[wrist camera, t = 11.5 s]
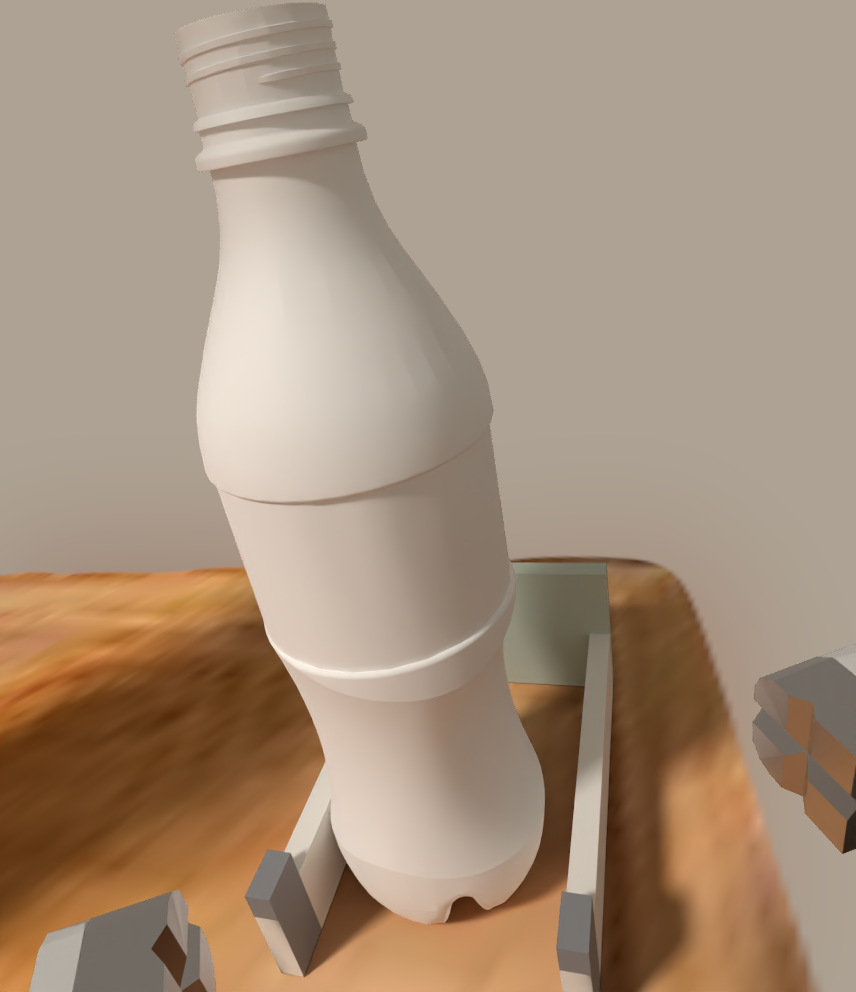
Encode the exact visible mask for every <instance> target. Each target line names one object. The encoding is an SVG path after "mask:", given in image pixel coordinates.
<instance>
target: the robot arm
mask: <svg viewBox="0 0 856 992" xmlns="http://www.w3.org/2000/svg"><path fill="white" fill-rule="evenodd" d="M754 700H755V701H756V702H757V703H758V704H759V705H760V706H761V707H762V709H761V711H760V712H759V714H758V715H757V717H756V718H755V720H754V721H753V742H754V744H755V747H756V750H757V752H758V755H759V758H760V760H761V761H762V763H763V765H764V766H765V768H766V769H767V771H768V772H769V774H770V775H771V776H772V777H773V778H774V779H775V780H776V782H777V783H778V784H779V785H780V786H781V787H782V788H784V789H787V790H789V791H792V792H794V793H796V794H799V795H801V796H803V801H804V809H805V814H806V815H807V816H808V817H809V818H810V819H811V820H812V821H813V823H815V825H816V826H817V827H818V828H819V829H820V830H821V831H822V832H823V833H824V834H825V836H826V837H827V838H828V839H829V840H830V841H831V842H832V843H833V844H834V845H835V847H836V848H837V849H838V850H839V851H840V852H841V853H842V854H843V853H846V852H849V851H852V850H854V849H856V645H855V644H854V645H851V646H848V647H845V648H842V649H839V650H837V651H834V652H831V653H828V654H826V655H823V656H821V657H815V658H813V659H810V660H807V661H804V662H802V663H799V664H797V665H794V666H791V667H789V668H786V669H783V670H781V671H778V672H775V673H773V674H770V675H767V676H765V677H762V678H760V679H759V681H758V682H757V684H756V685H755V693H754ZM29 992H216V980H215V973H214V967H213V960H212V955H211V952H210V948H209V945H208V942H207V939H206V937H205V935H204V933H203V932H202V930H201V928H200V927H199V926H196V925H193V924H190V923H188V904H187V903H186V901H185V900H184V898H183V896H182V895H181V893H180V892H179V890H176V891H172V892H169V893H166V894H163V895H160V896H157V897H154V898H151V899H148V900H145V901H142V902H139V903H136V904H133V905H130V906H127V907H124V908H121V909H118V910H115V911H112V912H109V913H106V914H103V915H100V916H97V917H94V918H91V919H88V920H86V921H83V922H80V923H77V924H74V925H71V926H68V927H65V928H63V929H60V930H57V931H54V932H51V933H48V934H47V936H46V938H45V940H44V942H43V943H42V945H41V947H40V949H39V951H38V955H37V960H36V964H35V969H34V973H33V977H32V982H31V986H30V991H29Z"/></svg>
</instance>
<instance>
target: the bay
mask: <svg viewBox="0 0 856 992" xmlns="http://www.w3.org/2000/svg"><path fill="white" fill-rule="evenodd" d="M511 564H512V566H513V568H514V571H515V575H516V596H515V604H514V609H513V613H512V617H511V621H510V624H509V627H508V629H507V632H506V635H505V637H504V640H503V654H504V664H505V671H506V676H507V680H508V682H515V683H533V684H551V685H569V686H585V692H584V703H583V714H582V725H581V736H580V748H579V759H578V770H577V781H576V792H575V804H574V815H573V826H572V837H571V848H570V860H569V871H568V882H567V892H563V891H562V895H561V905H560V916H559V926H558V937H557V947H556V949H557V956H558V963H559V969H560V976H561V983H562V990H563V992H600V972H601V949H602V926H603V903H604V880H605V857H606V835H607V812H608V789H609V766H610V743H611V720H612V697H613V659H612V643H611V626H610V610H609V594H608V577H607V563H511ZM346 863H347V862H346V860H345V858H344V856H343V854H342V852H341V850H340V848H339V846H338V843H337V840H336V837H335V834H334V832H333V829H332V824H331V791H330V781H329V776H328V771H327V765H326V761H325V764H324V766H323V768H322V770H321V772H320V775H319V777H318V779H317V781H316V783H315V786H314V788H313V790H312V792H311V794H310V796H309V799H308V801H307V803H306V805H305V807H304V810H303V812H302V814H301V816H300V818H299V821H298V823H297V825H296V827H295V829H294V832H293V834H292V836H291V838H290V840H289V842H288V845H287V847H286V849H285V851H284V852H281V851H274V850H267V851H266V854H265V856H264V858H263V860H262V862H261V864H260V866H259V868H258V870H257V872H256V874H255V876H254V879H253V881H252V883H251V885H250V887H249V889H248V891H247V893H246V895H245V898H246V900H247V902H248V904H249V906H250V908H251V910H252V913H253V915H254V917H255V919H256V921H257V923H258V925H259V927H260V929H261V931H262V933H263V935H264V938H265V940H266V942H267V944H268V946H269V948H270V950H271V952H272V954H273V956H274V958H275V960H276V963H277V965H278V967H279V969H280V971H281V973H286V974H291V975H296V976H301V977H304V976H305V973H306V970H307V968H308V965H309V962H310V960H311V957H312V954H313V951H314V949H315V946H316V943H317V941H318V938H319V935H320V933H321V930H322V927H323V925H324V922H325V919H326V916H327V914H328V911H329V908H330V906H331V903H332V900H333V898H334V895H335V892H336V890H337V887H338V884H339V881H340V879H341V876H342V873H343V871H344V868H345V865H346Z"/></svg>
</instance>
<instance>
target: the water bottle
mask: <svg viewBox="0 0 856 992" xmlns="http://www.w3.org/2000/svg"><path fill="white" fill-rule="evenodd" d="M332 27H333V24H332V21H331V20H329V17H328V13H327V9H326V5H323V4H318V3H286V4H277V5H268V6H260V7H255V8H250V9H244V10H238V11H233V12H228V13H224V14H220V15H216V16H212V17H208V18H205V19H201V20H198V21H195V22H193V23H190V24H188V25H185V26H183V27H180V28H179V29H178V30H177V31H176V32H175V33H174V35H175V38H176V42H177V46H178V49H179V53H180V57H179V62H180V65H181V66H182V67H184V70H185V74H186V79H185V83H186V86H187V87H189V88H190V91H191V95H192V98H193V101H194V105H195V109H196V112H197V115H198V120H197V121H196V122H195V123H194V124H193V132H194V133H197V132H199V133H200V137H201V140H202V144H203V151H202V152H201V153H200V154H199V155H198V156H197V157H196V159H195V164H196V168H197V171H198V172H204V171H210V173H211V177H212V182H213V186H214V190H215V195H216V199H217V205H218V215H219V226H220V261H219V269H218V276H217V283H216V289H215V295H214V300H213V305H212V310H211V315H210V320H209V325H208V330H207V335H206V340H205V346H204V353H203V359H202V366H201V373H200V379H199V386H198V393H197V417H196V419H197V428H198V439H199V446H200V450H201V454H202V459H203V463H204V468H205V472H206V474H207V476H208V477H209V480H210V481H211V483H213V484H214V485H215V486H216V487H217V490H218V492H219V495H220V498H221V501H222V503H223V506H224V509H225V512H226V515H227V518H228V521H229V523H230V526H231V529H232V532H233V535H234V538H235V541H236V543H237V546H238V549H239V552H240V555H241V558H242V561H243V563H244V566H245V569H246V572H247V575H248V578H249V580H250V583H251V586H252V589H253V592H254V595H255V597H256V600H257V603H258V606H259V609H260V612H261V614H262V617H263V620H264V626H265V630H266V635H267V637H268V639H269V641H270V644H271V645H272V647H273V648H274V650H275V651H276V653H277V654H278V656H279V657H280V659H281V660H282V662H283V664H284V665H285V667H286V669H287V671H288V672H289V674H290V676H291V677H292V679H293V681H294V683H295V684H296V686H297V688H298V690H299V692H300V694H301V696H302V698H303V700H304V702H305V704H306V706H307V709H308V711H309V713H310V715H311V717H312V720H313V723H314V725H315V728H316V730H317V733H318V736H319V738H320V742H321V745H322V749H323V752H324V756H325V760H326V765H327V771H328V776H329V781H330V791H331V824H332V829H333V832H334V834H335V837H336V840H337V843H338V846H339V848H340V850H341V852H342V854H343V856H344V858H345V860H346V862H347V863H348V865H349V867H350V868H351V870H352V872H353V873H354V875H355V876H356V878H357V879H358V880H359V882H360V883H361V884H362V886H363V887H364V888H365V889H366V890H367V892H368V893H369V894H370V895H371V896H372V897H373V898H374V899H376V900H377V901H378V902H379V903H380V904H382V905H383V906H385V907H386V908H388V909H389V910H391V911H392V912H393V913H395V914H398V915H400V916H402V917H404V918H407V919H409V920H412V921H415V922H418V923H422V924H425V925H429V924H436V923H445V922H446V921H447V919H448V917H449V914H450V910H451V906H452V903H453V902H454V901H455V900H456V899H458V898H460V897H464V896H469V897H473V898H474V899H475V900H476V901H477V903H478V904H479V905H480V906H481V907H483V908H484V909H486V910H490V909H491V908H493V907H495V906H497V905H500V904H502V903H504V902H505V901H506V900H507V899H508V898H509V897H510V896H511V895H512V894H513V893H514V892H515V891H516V889H517V888H518V887H519V886H520V884H521V883H522V882H523V880H524V878H525V877H526V875H527V873H528V872H529V870H530V868H531V866H532V864H533V862H534V860H535V857H536V854H537V852H538V849H539V846H540V841H541V836H542V831H543V823H544V811H545V787H544V780H543V774H542V770H541V766H540V763H539V760H538V757H537V754H536V752H535V750H534V748H533V746H532V744H531V742H530V740H529V738H528V736H527V734H526V732H525V730H524V728H523V726H522V723H521V721H520V718H519V716H518V713H517V711H516V708H515V706H514V703H513V700H512V697H511V694H510V690H509V685H508V680H507V676H506V671H505V664H504V654H503V640H504V637H505V635H506V632H507V629H508V627H509V624H510V621H511V617H512V613H513V609H514V604H515V596H516V575H515V571H514V568H513V566H512V564H511V562H510V559H509V558H508V553H507V546H506V538H505V531H504V525H503V524H504V523H503V516H502V509H501V502H500V495H499V488H498V481H497V474H496V466H495V459H494V452H493V445H492V438H491V431H490V423H491V419H492V415H493V406H492V401H491V396H490V392H489V387H488V382H487V379H486V377H485V374H484V372H483V369H482V367H481V364H480V361H479V359H478V357H477V355H476V353H475V351H474V350H473V348H472V346H471V344H470V342H469V341H468V339H467V337H466V335H465V334H464V332H463V330H462V329H461V327H460V326H459V324H458V323H457V321H456V320H455V319H454V317H453V315H452V314H451V313H450V311H449V310H448V308H447V307H446V305H445V304H444V302H443V301H442V300H441V298H440V297H439V295H438V294H437V292H436V291H435V290H434V288H433V287H432V286H431V284H430V283H429V282H428V280H427V279H426V278H425V277H424V275H423V274H422V272H421V271H420V270H419V269H418V267H417V266H416V265H415V263H414V262H413V261H412V259H411V258H410V257H409V255H408V254H407V253H406V251H405V250H404V249H403V247H402V246H401V244H400V243H399V241H398V240H397V238H396V237H395V235H394V234H393V232H392V231H391V230H390V228H389V227H388V225H387V223H386V221H385V219H384V217H383V215H382V213H381V212H380V210H379V208H378V206H377V204H376V203H375V200H374V197H373V195H372V192H371V189H370V187H369V184H368V182H367V179H366V176H365V174H364V171H363V167H362V163H361V159H360V155H359V151H358V147H357V144H356V142H358V141H363V140H366V139H367V133H366V129H365V127H364V126H363V125H362V124H359V123H356V122H354V121H353V120H352V118H351V114H350V110H349V106H348V104H350V103H353V102H354V101H353V99H352V97H351V95H350V94H347V93H344V92H343V88H342V83H341V78H340V73H339V70H340V69H341V66H340V63H338V62H337V59H336V54H335V50H336V44H335V41H333V40H332V33H331V28H332Z"/></svg>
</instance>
